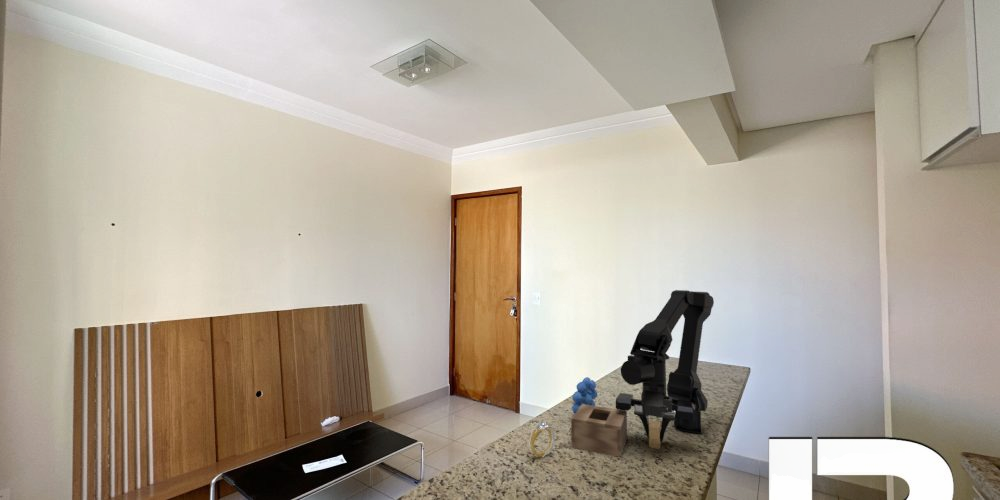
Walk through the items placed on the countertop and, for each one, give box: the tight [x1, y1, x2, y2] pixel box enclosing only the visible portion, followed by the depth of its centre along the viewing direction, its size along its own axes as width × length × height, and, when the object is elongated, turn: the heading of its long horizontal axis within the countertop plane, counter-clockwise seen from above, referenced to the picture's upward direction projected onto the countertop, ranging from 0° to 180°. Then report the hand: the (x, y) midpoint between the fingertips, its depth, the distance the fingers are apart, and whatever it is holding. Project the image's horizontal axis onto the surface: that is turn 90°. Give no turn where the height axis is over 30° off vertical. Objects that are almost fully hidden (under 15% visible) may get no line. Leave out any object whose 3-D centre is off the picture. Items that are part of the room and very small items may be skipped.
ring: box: [528, 420, 556, 458], centre depth 92 cm, size 7×3×8 cm, turn 118°
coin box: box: [570, 404, 628, 458], centre depth 100 cm, size 12×12×7 cm
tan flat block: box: [648, 419, 662, 450], centre depth 99 cm, size 2×5×5 cm, turn 155°
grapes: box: [571, 376, 598, 415], centre depth 117 cm, size 12×7×12 cm, turn 134°
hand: (655, 440), depth 99 cm, fingers closed on tan flat block, 2 cm apart
